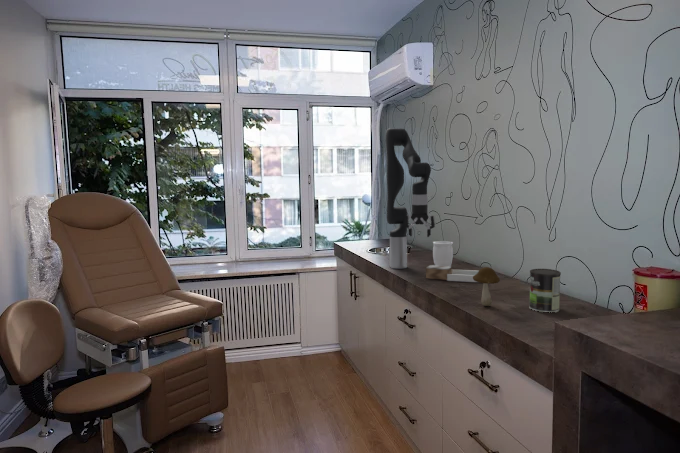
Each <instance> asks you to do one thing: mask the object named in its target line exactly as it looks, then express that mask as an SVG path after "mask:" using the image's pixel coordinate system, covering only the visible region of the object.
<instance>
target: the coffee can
mask: <svg viewBox="0 0 680 453" xmlns="http://www.w3.org/2000/svg"><path fill="white" fill-rule="evenodd" d="M561 274H562V272H561V271H559V270H556V269H551V268H533V269H530V270H529V306H528V308H529V309H530V310H531V309H532V310H531V311H534V310H535V311H534V312H537V311H539V312H538V313H543V312H549V313H548V314H553V313H552V312H555V313H558V312H559V311H560V295H561V293H560V291H561V290H560V289H561ZM550 312H551V313H550Z"/></svg>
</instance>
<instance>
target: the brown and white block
mask: <svg viewBox="0 0 680 453" xmlns="http://www.w3.org/2000/svg"><path fill="white" fill-rule="evenodd" d="M452 269H453V268H452V265H451V266H437V265H435V264H429V265H428V266H426V268H425V278H426V279H433V280H444V281H445V280H446V281H447V274H452Z"/></svg>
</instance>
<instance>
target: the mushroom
mask: <svg viewBox="0 0 680 453" xmlns="http://www.w3.org/2000/svg"><path fill="white" fill-rule="evenodd" d="M478 271H479V272H478V273H477V274H476V275H474V276H473V280H474V281H477V282H476V283H481V284H482V292H481V300H480V301H481V305H482V306H483V307H490V306H491V305H492V302H493V301H492V297H491V293H490V289H489V284H490V285H492V284H493V285H494V284H498V283H499V282H500V281H501V279H500V277H499V276H498V274H497V273H496V271H495V270H494V269H493V268H491V267H489V266H488V267H487V266H485V267H481V268H480V269H479V270H478Z"/></svg>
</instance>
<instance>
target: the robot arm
mask: <svg viewBox="0 0 680 453" xmlns="http://www.w3.org/2000/svg"><path fill="white" fill-rule="evenodd" d="M395 146H396V147H404V148H403V151H402V157H403V158H402V159H403V160H404V162H405V163H406V164H407V169H408V170H407V171H408V174H409V176H410V177H412V178H420V180H419V181H416V182H413V184H412V191H411V192H412V198H411V215H409V214H408V210H407V208H406V207H405V206H396V207H395V201H396V198H397V197H398V195H399V193H400V191H401V190H402V189H403V186H404V184H405V169H404V167H403V165H402V163H401V162H400V160H399V159H398V157H397V154H396V150H395ZM385 148H386V182H387V183H386V185H387V186H386V187H387V189H386V190H387V195H386V196H387V198H386V222H387V224H388V225H398V226H397V227H396V228H394V229H392V230H390V231H389V249H388V267H390V269H395V270H396V269H397V270H398V269H400V270H401V269H407V267H408V248H407V246H408V242H407V239H408V236H407V235H409V237H413V227H414V226H415V225H424V226H425V227H426V228H427V230H426V233H427V234H426V236H427V237H426V238H429V237H430V236H431V235H432V234H431V233H432V229H434V228H435V227H436V226H435V215H428V213H429V212H428V204H429V203H428V202H429V201H428V185H429V184H428V183H429V180H430V176H431V172H432V168H431V165H430V164H429V163H428V162H422V161H421V157H420V155H419V154H418V152H417V151H416V150H415V148H414V145H413V144H412V141H411V138H410V135H409V133H408V131H407V130H406V129H405V128H400V127H399V128H398V127H397V128H396V127H395V128H393V127H390V128H387V129H386V132H385ZM410 219H411V220H412V221H411V223H410V225H409V221H410ZM428 220H429V221H430V222H431V223H430V224H429V222H428ZM407 233H408V234H407Z"/></svg>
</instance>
